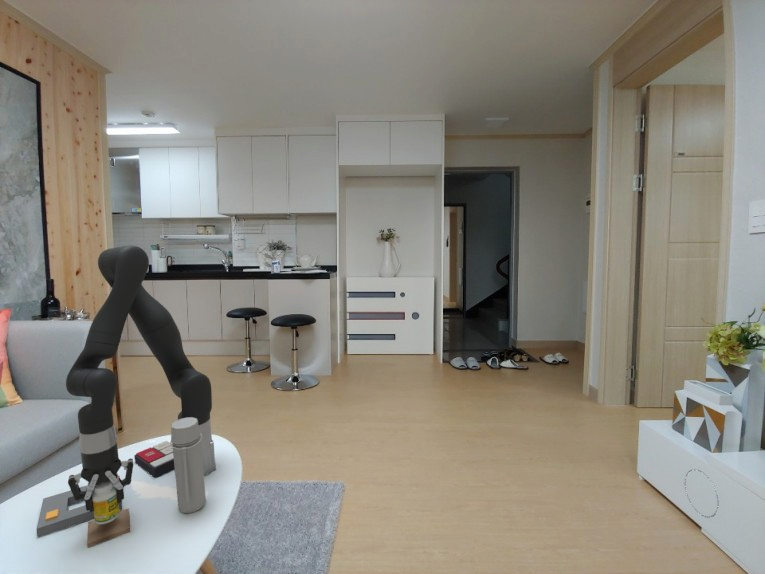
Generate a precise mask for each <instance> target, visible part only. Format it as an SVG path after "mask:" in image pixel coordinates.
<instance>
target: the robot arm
mask: <svg viewBox="0 0 765 574" xmlns="http://www.w3.org/2000/svg"><path fill="white" fill-rule="evenodd" d="M149 265H150V259H149V256H148V254H147V252H146V251H145V250H144V249H143V248H142V247H140V246H136V245H123V246H117V247H112V248H108V249H107V248H106V249H104V250H102V251H101V253H100V254H99V255H98V258H97V267H98V270H99V272H100V274H101V275H102V277H103V279H104V280H105V281H106V282H107V284H108V285H109V286H110V288H111V290H110V292H109V294H108V296H107V298H106V299H105V301H104V303H103V304H102V306H101V307H100V309H99V310H98V311H97V313H96V314H95V317H93V320H92V321H91V324H90V327H89V331H88V334H87V337H86V339H85V340H86V341H85V344H84V347H83V349H82V351H81V352H80V353H79V355H78V357H77V358H76V360H75V362H74V363H73V365H72V366H71V368H70V370H69V372H68V374H67V376H66V378H65V387H66V390H67V392H68V393H69V394H70V395H72V396H74V397H82V398H83V397H85V398H91V402H90V403H88V404H86V405H84V406H82V407H80V408H79V410H78V411H77V412H78V413H77V423H78V430H79V438H78V439H79V440H78V441H79V451H80V457H81V459H80V460H81V465H82V469H81V472H79V473H76V474H70V475H69V476H68V480H67V484H68V486H69V489H70V490H71V491H72V494H73V496H74V498H75V500H80V499H84V500H85V501H84V502H85V503H84V505H86V510H87V511H89V510H90V512H93V503H92V491H93V489H94V487H95V485H99V484H101V483H103V482H109V481H111V482H112V483H113V484H114V485H115V486H116V487H117V496H118V503H120V502H121V500H122V501H123V500H124V499H125V491H124V490H125V489H124V488H125V487H126V486H129V485H130V484H131V483H132V478H133V477H132V476H133V469H134V460H133V458H128V459H127V460H121V459H120V457H119V450H118V449H119V448H118V437H117V431H116V428H115V424H114V414H113V406H114V403H115V397H116V391H117V387H118V379H117V376H116V374H115V372H114V371H113V370H111V369H110V368H104V367H99V366H100V365H101V363H102V362H103V361H106V360H110V359H112V358H114V357H115V356H116V355H117V353H118V350H119V346H120V342H121V339H122V335H123V331H124V327H125V324H126V321H127V318H128V315H129V316H130V318H131V319H132V321H133V323H134V325H135V327H136V329H137V330H138V332H139V334H140V336H141V337H142V339H143V341H144V342H145V344H146V345H147V347H148V349H149V350H150V352H151V353H152V354H153V357H155V359H156V360H157V361H158V363H159V364H160V366H161V367H162V369H163V372H164V375H165V377H166V379H167V381H168V384H169V386H170V389H171V391H172V393H174V395H175V396H176V397H177V398H180V403H181V411H179V413H178V415H177V420H179V419H183V418H188V417H193V418H196V419H197V421H198V425H199V430H200V433H201V434H202V439H201V446H202V459H203V471H204V477H205V476H207V475H209V474H210V473H212V472H213V471H215V470H216V458H215V455H216V454H215V444H214V440H213V438H212V437H213V436H212V435H213V434H212V423H211V421H212V420H211V412H212V407H213V399H212V397H213V396H212V395H213V394H212V392H213V391H212V383H211V380H210V378H209V377H208V375H206V374H204V373H202V372H200V371H198V370H197V369H196V368H195V367H194V366H193V365H192V363H191V362H190V360H189V359H188V357H187V356H186V353H185V350H184V348H183V341H182V340H183V339H182V335H181V333H180V329H179V328H178V326H177V324H176V322H175V320H174V318H173V316H172V314H171V312H170V311H169V310H168V309H167V308H166V307H165V306H164V305H163V304H161V303H160V302H159V301H158V300H157V299H156V298H155V297H153V296H152V295H151V294H150V293H149V292H148V291H147V290H146V289H145V288H144V286H143V284H142V283H143V281H144V279H145V277H146V275H147V273H148V270H149V267H150V266H149ZM121 467H122V468H123V470H124V471H125V477H124V478H121V477H119V476H120V475H119V474H118V472H119V471H120V469H121ZM81 478H82V480H83V479H84V480H85V482H87V485H86V486H87V488H86V491H81V489H80V487H81V486H80V485H79V484H80V482H81Z"/></svg>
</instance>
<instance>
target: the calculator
mask: <svg viewBox="0 0 765 574" xmlns="http://www.w3.org/2000/svg"><path fill="white" fill-rule="evenodd" d="M170 442H171V441H167V440H165V441H162V442H160V443H158V444H155V445H153V446H152V447H148V448H145V449H143V450H141V451H138V452H136V453H135V454H134V456H133V457H134V462H135V465H137V464H138V467H140V468H141V469H142V470H144V471H146V472H147V473H148V474H149V475H150V476H151V475H152V476H151V477H153V478H154V479H158V478H160V477H162V476H164V475H167V474H169V473H170V472H173V471H175V470H174V469H175V467H174V456H173V447H171V445H170ZM172 446H173V445H172Z"/></svg>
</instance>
